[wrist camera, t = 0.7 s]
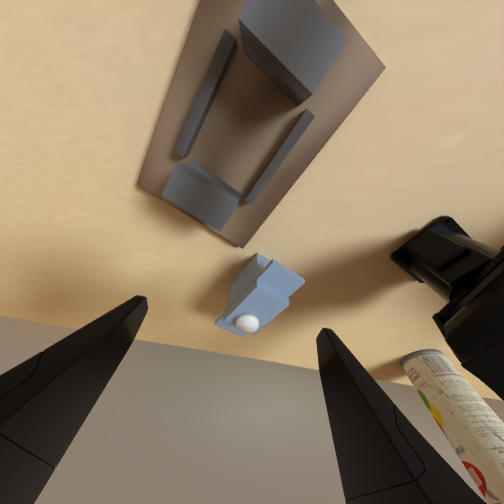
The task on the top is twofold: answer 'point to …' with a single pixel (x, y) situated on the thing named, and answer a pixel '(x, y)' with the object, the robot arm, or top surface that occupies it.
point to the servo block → (258, 296)
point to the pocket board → (254, 107)
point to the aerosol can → (461, 419)
